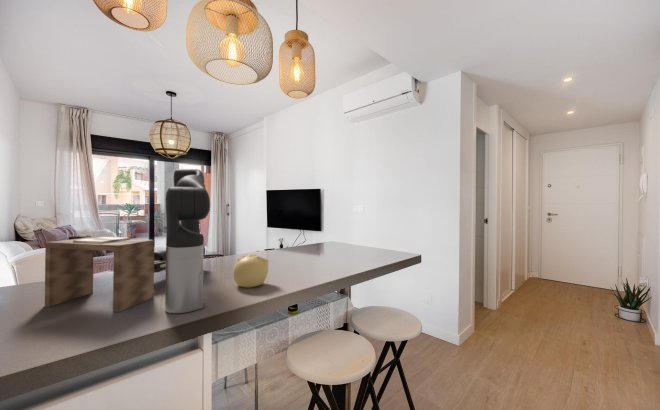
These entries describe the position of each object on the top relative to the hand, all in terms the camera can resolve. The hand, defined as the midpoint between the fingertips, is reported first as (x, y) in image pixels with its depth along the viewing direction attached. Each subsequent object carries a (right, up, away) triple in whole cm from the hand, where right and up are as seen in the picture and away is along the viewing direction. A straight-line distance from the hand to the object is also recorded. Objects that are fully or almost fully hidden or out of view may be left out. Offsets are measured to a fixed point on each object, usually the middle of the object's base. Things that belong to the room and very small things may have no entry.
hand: (123, 271), depth 87 cm
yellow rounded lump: (+37, -8, +11) cm, 39 cm away
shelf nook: (-1, -7, -7) cm, 10 cm away
